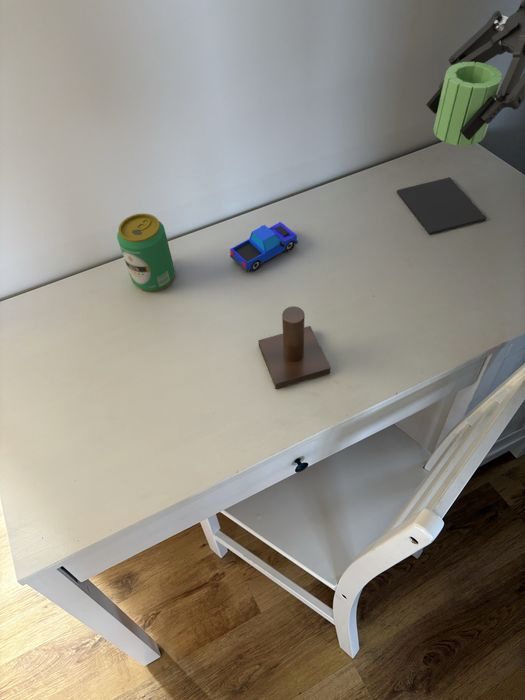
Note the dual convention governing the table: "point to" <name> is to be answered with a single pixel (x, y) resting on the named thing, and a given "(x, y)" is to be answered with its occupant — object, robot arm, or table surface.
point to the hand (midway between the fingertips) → (447, 122)
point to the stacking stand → (293, 352)
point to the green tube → (465, 100)
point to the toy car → (263, 246)
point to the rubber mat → (440, 205)
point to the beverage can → (146, 252)
